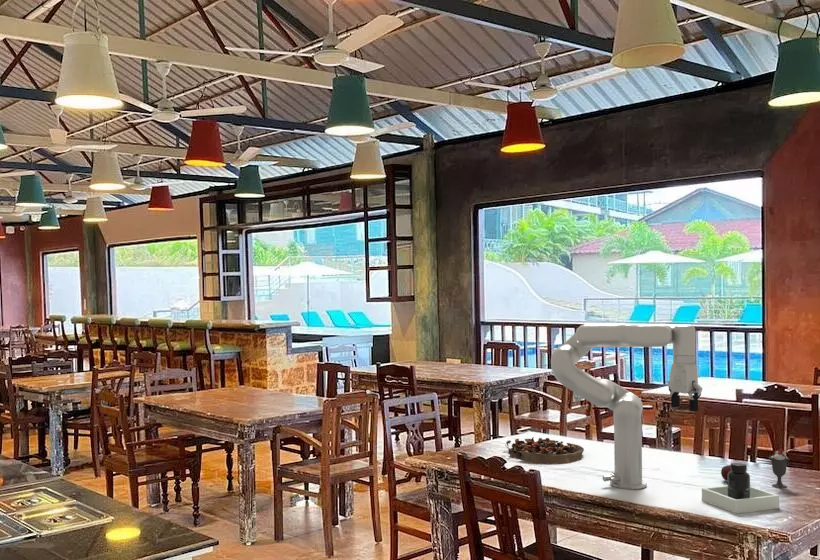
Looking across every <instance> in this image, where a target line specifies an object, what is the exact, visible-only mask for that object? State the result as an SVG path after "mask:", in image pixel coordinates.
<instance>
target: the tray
mask: <svg viewBox="0 0 820 560" xmlns="http://www.w3.org/2000/svg"><path fill="white" fill-rule="evenodd" d="M701 500H702V501H703V502H705V503H708V504H710V505H712V506H713V505H714V506H716V507H718V508H721V509H723V510H726V511H729V512H732V513H734V514H742V513H743V514H744V513H750V512H751V513H752V512H757V511H766V510H774V509H780V495H778V494H775V493H772V492H770V491H767V490H763V489H759V488H758V487H755V486H751V485H750V498H745V499H737V500H736V499H734V498H731V497H728V484H727V485H719V486H710V487H709V486H708V487H702V488H701Z"/></svg>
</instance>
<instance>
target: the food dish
mask: <svg viewBox="0 0 820 560" xmlns="http://www.w3.org/2000/svg"><path fill="white" fill-rule="evenodd" d="M511 442H512V440H509V439H508V440H507V441H505V443H506V444H504V446H505V447H506V449H508V455H509V457H511V458H513V459H517V460H521V461H523V462H524V463H530V464H534V465H537V464H538V465H541V464H542V465H565V464H570V463H574V462H578V461H580V460H582V457H583V456H582V455H583V453H584V451H585V449H584V447H583V446H581V445H579V444H575V443H570V442H566V445H565V444H563V443H564V441H560V442H559V440H554V439H550V438H549V437H546V438H544V439H543V438H542V437H539V438H538V440H537V441H535V440H534V436H533V437H532V438H524V440H520V439H519V438H515V439H514V442H515V443H514V442H513V443H512V444H511ZM509 444H511V447H509Z"/></svg>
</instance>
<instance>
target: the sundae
mask: <svg viewBox="0 0 820 560" xmlns="http://www.w3.org/2000/svg"><path fill="white" fill-rule="evenodd" d="M782 446H783V445H780V447H778V448H779V449H777V450H775V451H774V454H772V455H770V456H769V457H768V459H769V460H770V462H771V468H772V469H771V470H772V472H773V474H774V475H775V476H776V477H777V481H776V483H774V484H771V486H772V488H776V489H787V488H788V486H787V485H785V484H783V482H782V478H783V476H784V475H786V473H787V472H786V471H787V466H788V461H790V458H789V457H788V456H787V455H786V453H785V452H784V450H783V448H781V447H782Z"/></svg>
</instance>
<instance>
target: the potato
mask: <svg viewBox="0 0 820 560" xmlns="http://www.w3.org/2000/svg"><path fill="white" fill-rule="evenodd" d="M730 471H732V470H731V464H728V465H725V466H723V467H721V470H720V474H721V477H722V479H723V480H725V481H726V482H728V473H729V472H730Z"/></svg>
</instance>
